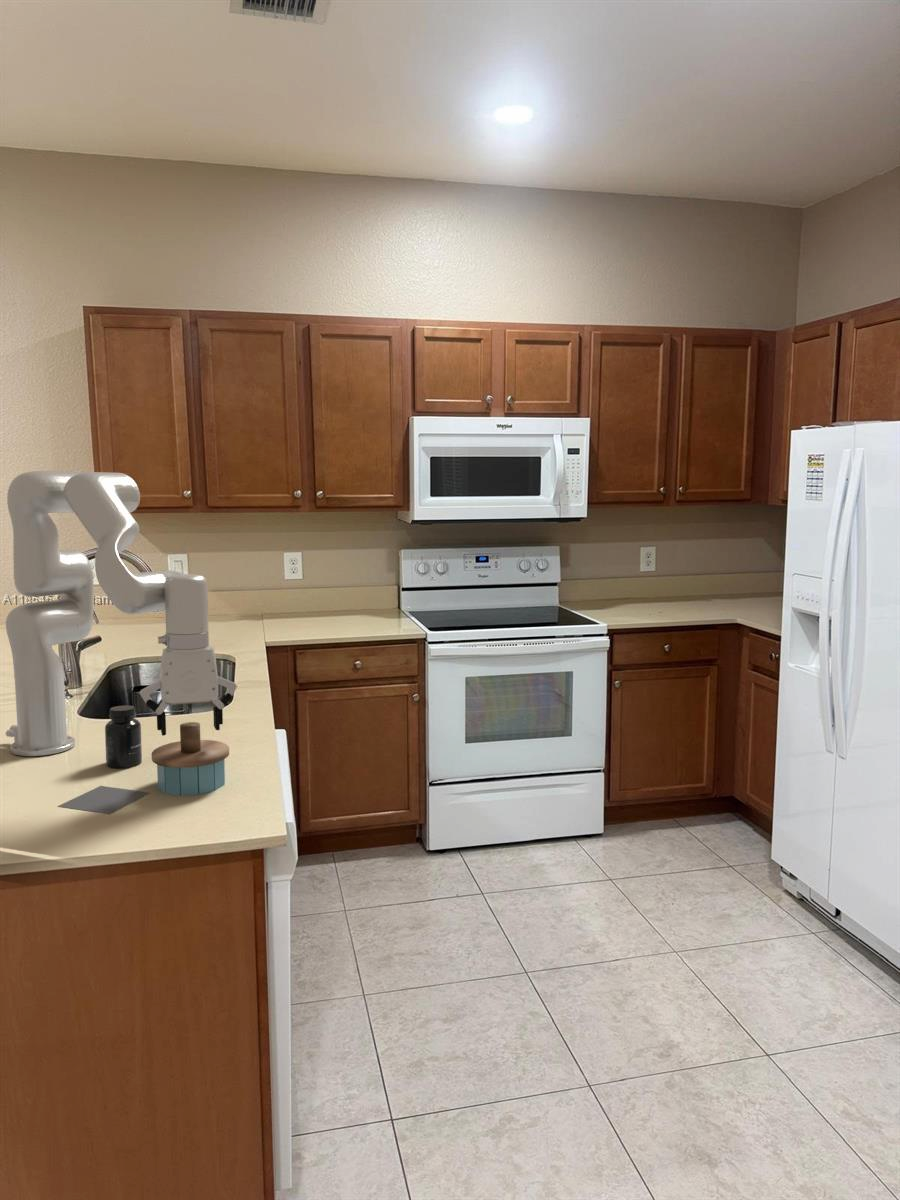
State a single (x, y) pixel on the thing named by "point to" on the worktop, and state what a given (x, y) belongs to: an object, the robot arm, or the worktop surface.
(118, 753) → the supplement bottle
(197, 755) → the walnut lid
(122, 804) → the rubber mat
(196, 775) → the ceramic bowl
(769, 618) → the worktop surface
